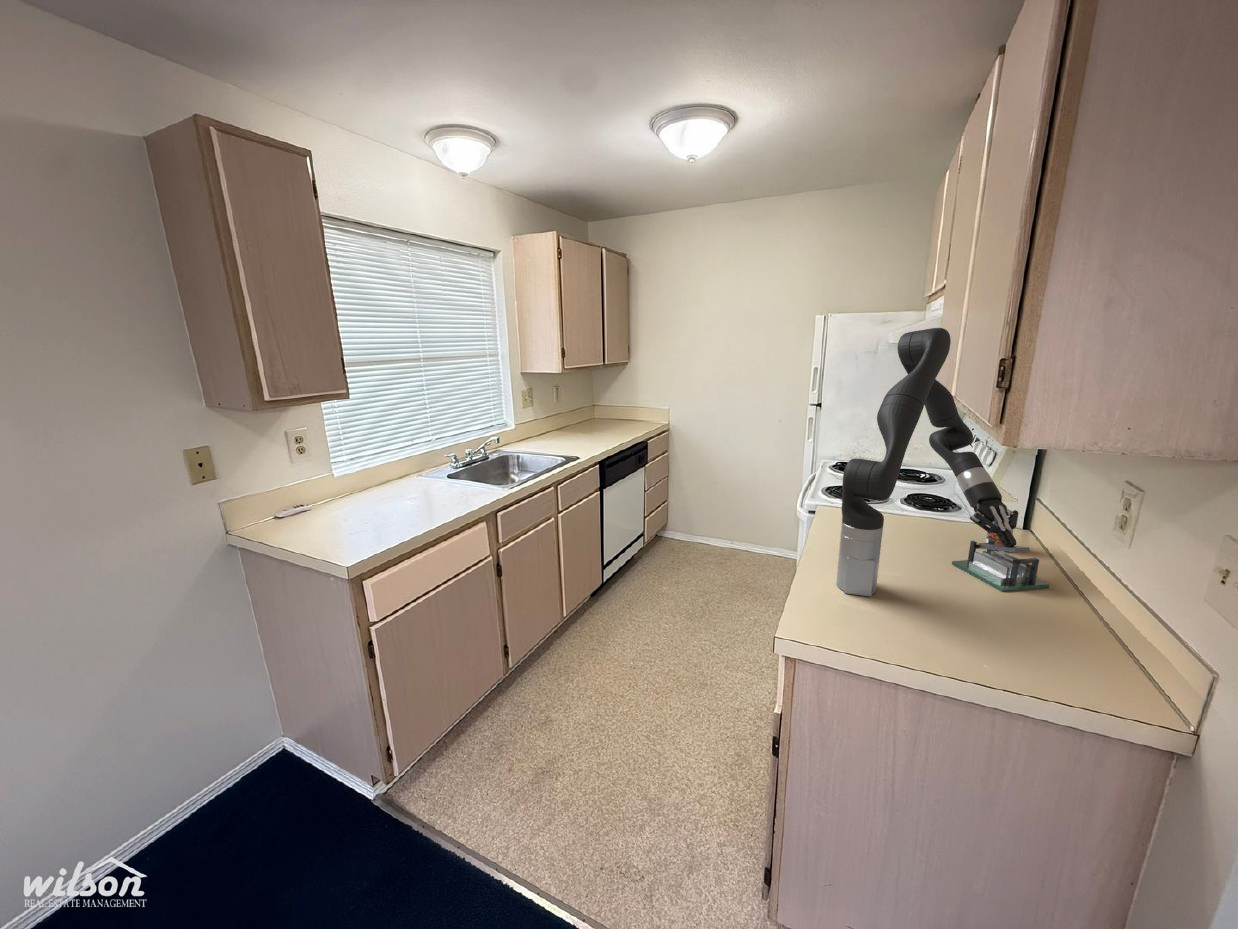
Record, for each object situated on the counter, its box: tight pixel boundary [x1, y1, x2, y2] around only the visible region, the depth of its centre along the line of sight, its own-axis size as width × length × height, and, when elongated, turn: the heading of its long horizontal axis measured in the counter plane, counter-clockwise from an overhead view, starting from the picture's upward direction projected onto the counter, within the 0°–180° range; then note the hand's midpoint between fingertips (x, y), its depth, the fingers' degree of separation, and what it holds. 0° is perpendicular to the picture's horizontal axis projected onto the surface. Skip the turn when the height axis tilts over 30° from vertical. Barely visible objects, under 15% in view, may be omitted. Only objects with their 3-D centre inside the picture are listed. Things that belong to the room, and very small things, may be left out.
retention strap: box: [976, 542, 1031, 553], centre depth 129 cm, size 1×4×13 cm
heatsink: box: [951, 539, 1050, 593], centre depth 130 cm, size 16×13×8 cm
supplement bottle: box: [985, 525, 1015, 552], centre depth 146 cm, size 6×6×11 cm
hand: (1011, 546), depth 126 cm, fingers closed
